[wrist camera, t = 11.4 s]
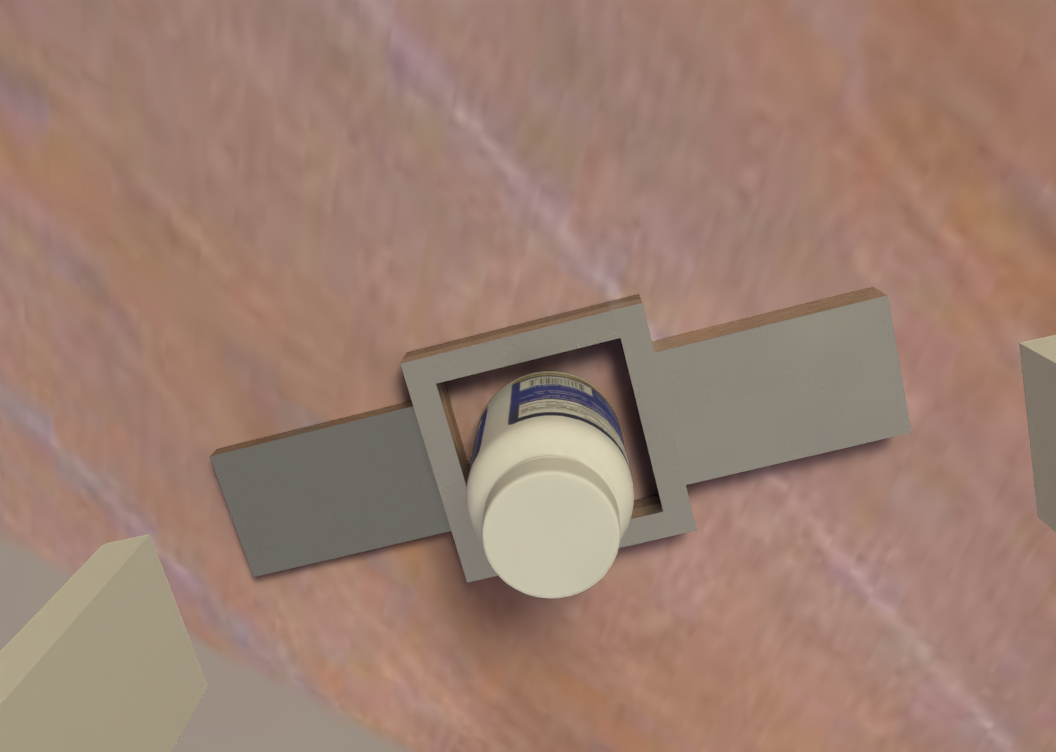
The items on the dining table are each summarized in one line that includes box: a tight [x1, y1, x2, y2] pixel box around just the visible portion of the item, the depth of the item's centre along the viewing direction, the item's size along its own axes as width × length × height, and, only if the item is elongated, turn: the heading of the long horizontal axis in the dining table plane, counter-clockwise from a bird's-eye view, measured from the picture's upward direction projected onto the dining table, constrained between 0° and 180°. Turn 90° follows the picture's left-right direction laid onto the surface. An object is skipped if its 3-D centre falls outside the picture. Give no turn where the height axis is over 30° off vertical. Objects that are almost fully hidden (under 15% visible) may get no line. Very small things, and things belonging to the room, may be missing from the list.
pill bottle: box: [466, 371, 634, 599], centre depth 33 cm, size 5×5×9 cm
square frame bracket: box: [210, 287, 911, 583], centre depth 36 cm, size 25×9×2 cm, turn 105°
